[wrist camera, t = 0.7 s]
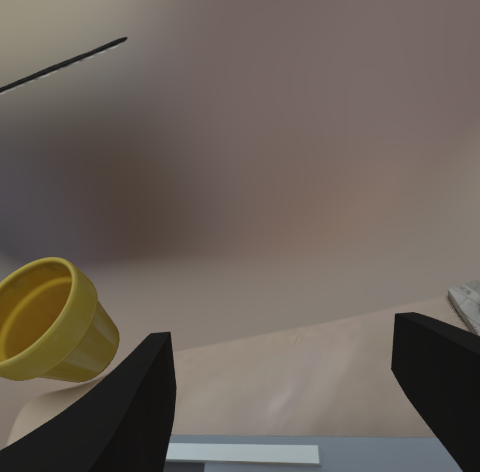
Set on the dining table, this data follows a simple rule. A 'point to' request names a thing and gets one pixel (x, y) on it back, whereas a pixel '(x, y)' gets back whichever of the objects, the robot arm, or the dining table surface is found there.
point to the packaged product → (467, 304)
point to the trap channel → (307, 454)
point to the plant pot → (53, 324)
